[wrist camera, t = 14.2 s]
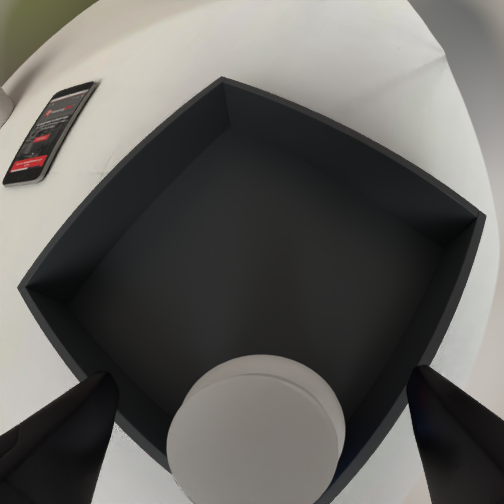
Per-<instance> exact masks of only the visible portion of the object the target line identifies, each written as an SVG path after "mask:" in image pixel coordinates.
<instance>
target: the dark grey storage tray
mask: <svg viewBox="0 0 504 504" xmlns="http://www.w3.org/2000/svg"><path fill="white" fill-rule="evenodd" d="M485 220H486V215H485V214H484V213H482V212H481V211H479V210H478V209H477V208H476V207H475V206H473V205H472V204H471V203H469V202H468V201H467V200H465V199H464V198H463V197H461V196H460V195H459V194H457V193H456V192H455V191H453V190H452V189H450V188H449V187H447V186H446V185H445V184H443V183H442V182H440V181H439V180H437V179H436V178H434V177H433V176H431V175H430V174H428V173H427V172H425V171H424V170H422V169H421V168H419V167H417V166H416V165H414V164H413V163H411V162H409V161H408V160H406V159H404V158H403V157H401V156H399V155H398V154H396V153H394V152H393V151H391V150H389V149H388V148H386V147H384V146H382V145H380V144H379V143H377V142H375V141H373V140H371V139H370V138H368V137H366V136H364V135H362V134H360V133H358V132H356V131H354V130H352V129H350V128H348V127H346V126H344V125H342V124H340V123H338V122H336V121H334V120H332V119H330V118H328V117H326V116H324V115H321V114H319V113H317V112H315V111H313V110H310V109H308V108H306V107H303V106H301V105H299V104H296V103H294V102H292V101H289V100H287V99H284V98H282V97H279V96H277V95H274V94H271V93H269V92H266V91H263V90H261V89H258V88H255V87H252V86H250V85H247V84H244V83H241V82H238V81H235V80H232V79H229V78H228V79H227V78H226V77H222V76H221V77H220V78H218V79H217V80H216V81H214V82H213V83H212V84H210V85H209V86H207V87H206V88H205V89H203V90H202V91H201V92H200V93H198V94H197V95H196V96H194V97H193V98H192V99H191V100H189V101H188V102H187V103H185V104H184V105H183V106H182V107H181V108H179V109H178V110H177V111H176V112H174V113H173V114H172V115H171V116H170V117H168V118H167V119H166V120H165V121H164V122H163V123H161V124H160V125H159V126H158V127H157V128H156V129H155V130H153V131H152V132H151V133H150V134H149V135H148V136H147V137H146V138H145V139H143V140H142V141H141V142H140V143H139V144H138V145H137V146H136V147H135V148H134V149H133V150H132V151H131V152H130V153H129V154H128V155H126V156H125V157H124V158H123V159H122V160H121V161H120V162H119V163H118V164H117V165H116V166H115V167H114V168H113V169H112V170H111V171H110V172H109V173H108V175H107V176H106V177H105V178H104V179H103V180H102V181H101V182H100V183H99V184H98V185H97V186H96V187H95V188H94V189H93V190H92V192H91V193H90V194H89V195H88V196H87V197H86V198H85V199H84V200H83V202H82V203H81V204H80V205H79V206H78V207H77V209H76V210H75V211H74V212H73V213H72V214H71V216H70V217H69V218H68V219H67V220H66V222H65V223H64V224H63V225H62V226H61V228H60V229H59V230H58V231H57V233H56V234H55V235H54V237H53V238H52V239H51V240H50V242H49V243H48V244H47V246H46V247H45V248H44V250H43V251H42V252H41V254H40V255H39V256H38V258H37V259H36V261H35V262H34V263H33V265H32V266H31V268H30V269H29V270H28V272H27V273H26V275H25V276H24V278H23V279H22V281H21V282H20V284H19V285H18V287H17V289H18V290H19V292H20V294H21V296H22V298H23V299H24V301H25V303H26V305H27V306H28V308H29V310H30V311H31V313H32V315H33V316H34V318H35V320H36V321H37V323H38V324H39V326H40V328H41V329H42V331H43V332H44V334H45V335H46V337H47V338H48V340H49V341H50V343H51V344H52V346H53V347H54V348H55V350H56V351H57V353H58V354H59V355H60V357H61V358H62V360H63V361H64V362H65V364H66V365H67V366H68V368H69V369H70V370H71V372H72V373H73V374H74V375H75V377H76V378H77V379H78V380H79V382H82V381H83V380H85V379H86V378H88V377H89V376H91V375H92V374H93V373H95V372H96V371H98V370H103V371H109V372H111V373H112V375H113V377H114V379H115V381H116V383H117V385H118V387H119V390H120V398H119V402H118V406H117V411H116V416H115V420H114V422H115V423H116V424H117V425H118V426H119V427H120V428H121V429H122V430H123V431H124V432H125V433H126V434H127V435H128V436H129V437H130V438H131V439H132V440H133V441H134V442H135V443H137V444H138V445H139V446H140V447H141V448H142V449H143V450H144V451H145V452H146V453H147V454H148V455H150V456H151V457H152V458H153V459H154V460H155V461H156V462H158V463H159V464H160V465H161V466H162V467H163V468H165V469H166V470H167V471H168V472H169V473H171V474H172V472H171V470H170V467H169V463H168V458H167V437H168V431H169V428H170V426H171V423H172V420H173V418H174V416H175V415H176V413H177V411H178V410H179V408H180V407H181V406H182V404H183V401H184V399H185V397H186V396H187V394H188V392H189V391H190V389H191V388H192V387H193V385H194V384H195V383H196V382H197V381H198V380H199V379H200V378H201V377H202V376H203V375H205V374H206V373H207V372H208V371H210V370H211V369H213V368H214V367H216V366H218V365H220V364H222V363H224V362H227V361H229V360H232V359H235V358H239V357H243V356H249V355H274V356H280V357H284V358H288V359H291V360H294V361H296V362H299V363H301V364H303V365H305V366H307V367H308V368H310V369H312V370H313V371H314V372H316V373H317V374H318V375H319V376H321V377H322V378H323V379H324V380H325V381H326V383H327V384H328V385H329V386H330V387H331V389H332V390H333V392H334V393H335V395H336V397H337V399H338V401H339V403H340V405H341V408H342V411H343V415H344V420H345V440H344V446H343V449H342V453H341V455H340V458H339V460H338V463H337V467H336V470H335V473H334V476H333V478H332V481H331V482H330V484H329V486H328V487H327V489H326V490H325V492H324V493H323V494H322V495H321V497H320V498H319V499H318V500H316V501H315V503H313V504H330V503H331V502H332V501H333V500H334V498H335V497H336V496H337V495H338V494H339V493H340V492H341V491H342V490H343V489H344V488H345V487H346V485H347V484H348V483H349V482H350V481H351V480H352V479H353V477H354V476H355V475H356V474H357V473H358V472H359V470H360V469H361V468H362V467H363V465H364V464H365V463H366V462H367V460H368V459H369V458H370V457H371V455H372V454H373V453H374V452H375V450H376V449H377V448H378V446H379V445H380V444H381V442H382V441H383V439H384V438H385V437H386V435H387V434H388V432H389V431H390V430H391V428H392V427H393V425H394V424H395V422H396V421H397V419H398V418H399V416H400V415H401V413H402V412H403V410H404V409H405V407H406V405H407V404H408V399H407V394H406V385H407V382H408V380H409V377H410V374H411V371H412V369H413V368H414V367H415V366H419V365H428V366H430V364H431V362H432V360H433V358H434V356H435V354H436V352H437V350H438V348H439V346H440V344H441V342H442V340H443V338H444V336H445V334H446V332H447V329H448V327H449V325H450V323H451V320H452V318H453V316H454V313H455V311H456V309H457V306H458V304H459V301H460V299H461V296H462V294H463V291H464V288H465V286H466V283H467V280H468V277H469V274H470V271H471V268H472V265H473V262H474V259H475V256H476V253H477V250H478V246H479V243H480V239H481V236H482V232H483V228H484V224H485Z"/></svg>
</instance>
